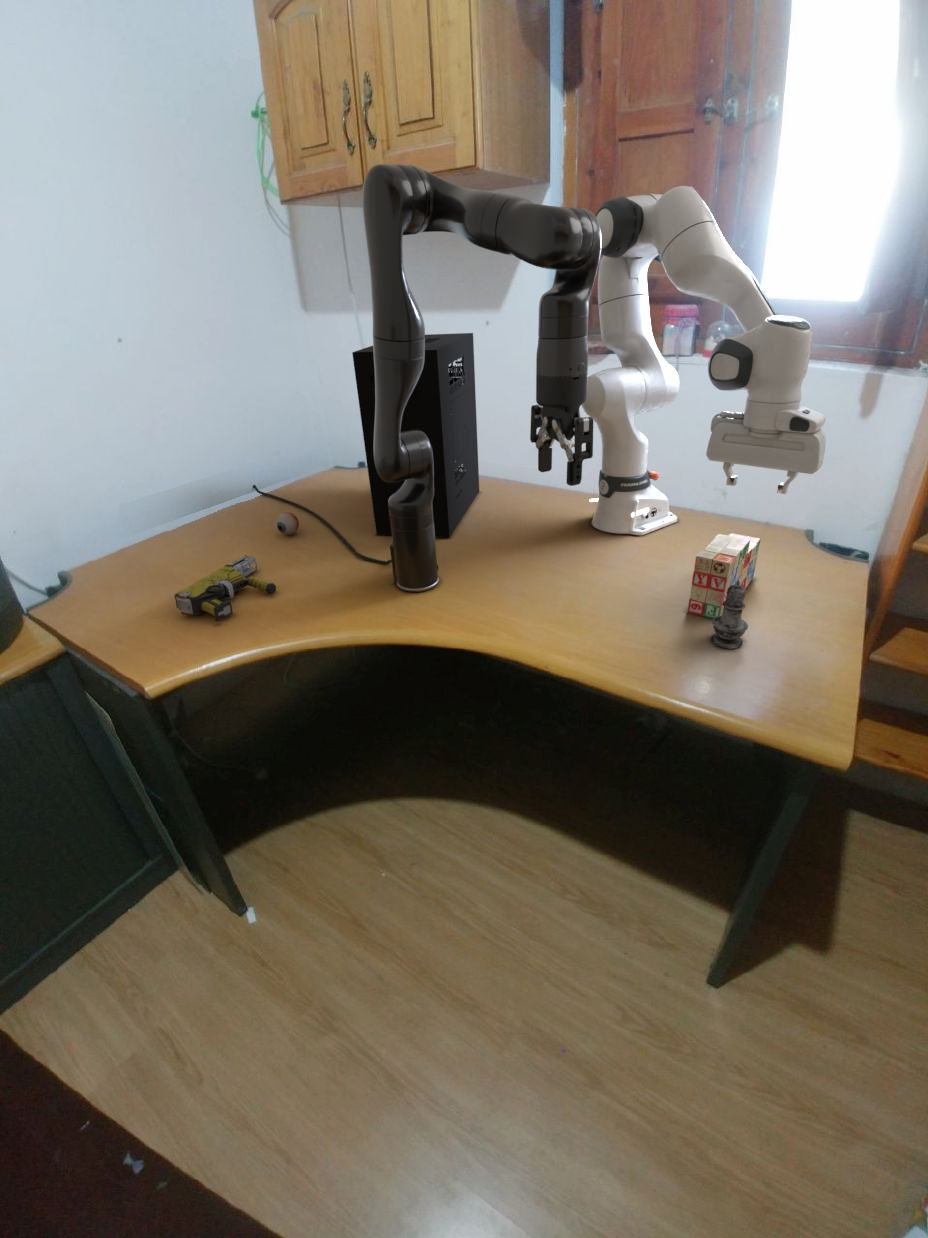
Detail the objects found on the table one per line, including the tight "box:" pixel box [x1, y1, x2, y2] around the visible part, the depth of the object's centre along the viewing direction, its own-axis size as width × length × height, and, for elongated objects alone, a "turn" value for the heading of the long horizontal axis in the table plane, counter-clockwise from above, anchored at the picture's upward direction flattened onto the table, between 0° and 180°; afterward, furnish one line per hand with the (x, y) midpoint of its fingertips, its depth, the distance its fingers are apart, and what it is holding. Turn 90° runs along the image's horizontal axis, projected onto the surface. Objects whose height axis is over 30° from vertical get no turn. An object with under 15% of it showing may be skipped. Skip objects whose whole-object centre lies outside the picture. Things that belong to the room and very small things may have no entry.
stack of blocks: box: [687, 532, 761, 620], centre depth 120 cm, size 21×6×12 cm, turn 141°
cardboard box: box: [351, 332, 480, 539], centre depth 164 cm, size 38×20×45 cm, turn 167°
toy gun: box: [173, 554, 277, 622], centre depth 133 cm, size 5×24×15 cm
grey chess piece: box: [710, 581, 749, 650], centre depth 105 cm, size 6×6×12 cm
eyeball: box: [275, 511, 300, 536], centre depth 163 cm, size 6×6×6 cm
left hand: (558, 477), depth 97 cm, fingers open, 8 cm apart
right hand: (755, 488), depth 117 cm, fingers open, 8 cm apart
